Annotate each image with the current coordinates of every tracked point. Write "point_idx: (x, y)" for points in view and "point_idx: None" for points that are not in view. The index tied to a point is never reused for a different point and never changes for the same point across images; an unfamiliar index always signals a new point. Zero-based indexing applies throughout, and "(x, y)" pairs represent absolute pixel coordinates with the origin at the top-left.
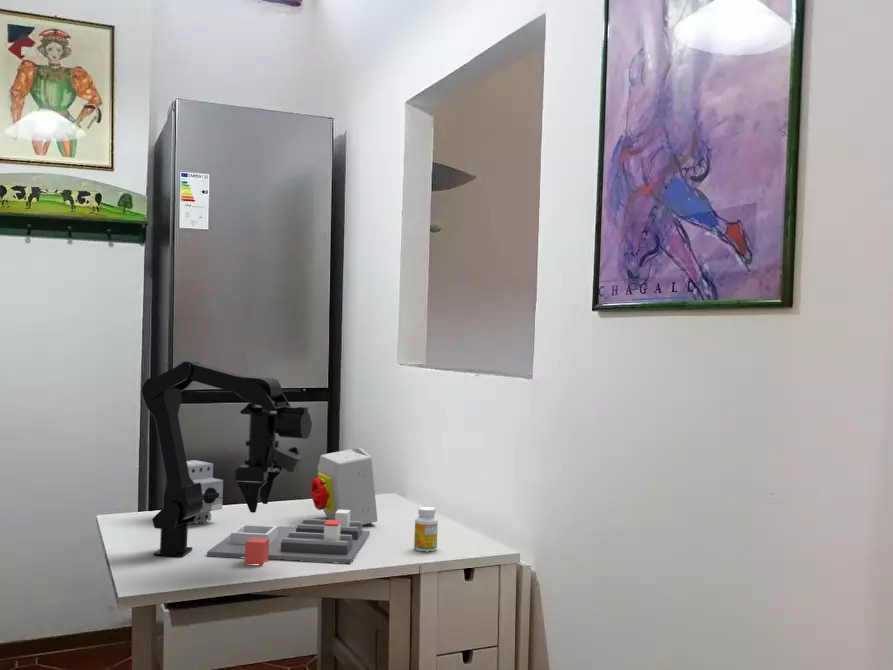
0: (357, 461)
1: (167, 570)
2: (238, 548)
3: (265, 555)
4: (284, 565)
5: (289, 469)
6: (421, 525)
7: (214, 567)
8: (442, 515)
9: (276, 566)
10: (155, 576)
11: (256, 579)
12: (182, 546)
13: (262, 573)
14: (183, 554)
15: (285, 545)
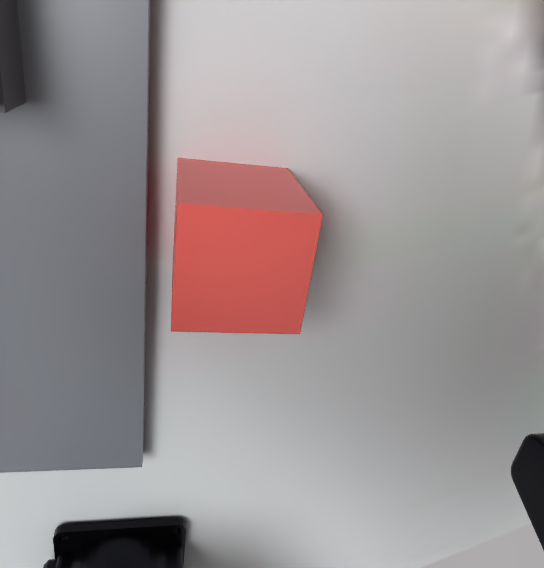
0: None
1: (360, 494)
2: (38, 365)
3: (251, 178)
4: (269, 32)
5: None
6: None
7: (321, 374)
8: None
9: (294, 84)
10: (429, 497)
11: (529, 153)
12: (146, 560)
13: (431, 143)
14: (171, 523)
15: (6, 68)
